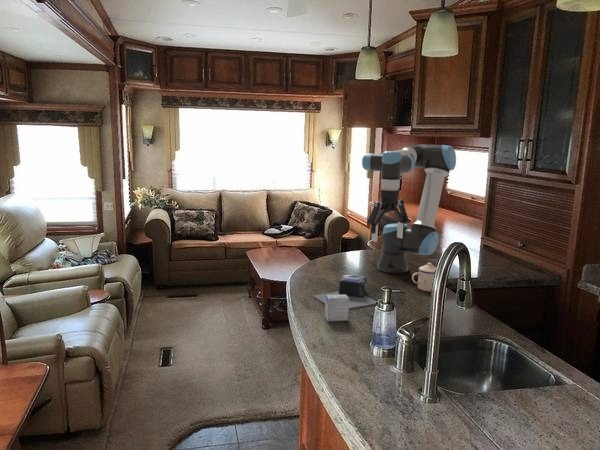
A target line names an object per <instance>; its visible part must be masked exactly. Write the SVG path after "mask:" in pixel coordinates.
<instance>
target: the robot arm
mask: <svg viewBox="0 0 600 450" xmlns="http://www.w3.org/2000/svg"><path fill="white" fill-rule="evenodd" d="M361 166H362V168H363V169H364V170H365V171H370V172H372V171H373V172H381V178H380V188H381V190H380V196H379V198H380V201H377V200H375V201H374V203H373V204H374V205H373V208H372V211H371V212H370V215H369V217H368V220H367V222H366V224H367V225H370V233H371V241H372V242H375V243H376V242H378V233H379V232H378V231H379V226H378V224H379V222H380V221H381V219H382V218H383V216H384V215H385V214H386V213H390V212H391V213H392V212H393V214H394V215H395V217H396V218H397V219H398V222H397V223H389V224H385V225H384V226H383V230H382V245H381V254H380V257H379V260H378V262H377V267H376V268H377V269H378V271H381V272H384V273H388V274H404V273H408V271H409V264H408V259H407V256H406V252H407V253H412V254H417V255H420V256H422V255H423V256H424V255H425V256H431V255H432V254H433V253H434V252H435V251H436V249H437V248H438V244H439V241H440V239H439V238H440V234H439V232H437V228H436V226H435V224H436V223H435V222H436V218H437V213H438V209H439V205H440V201H441V195H442V192H443V191H442V190H443V186H444V182H445V179H446V177H448V176H450V175H449V174H450V171H453V170H454V169H455V167H456V166H457V155H456V150H455V147H453V146H451V145H446V144H425V143H421V144H416V145H412V146H405V147H403V148H402V149H398V150H388V151H387V150H385V151H383V152H379V153H372V152H370V153H365V154H364V155H363V156H362V159H361ZM414 168H421V169H424V172H425V173H426V176H425V179H424V180H425V181H424V184H423V185H424V186H423V190H422V194H421V196H420V197H421V198H420V203H419V207H418V211H417V216H416V220H415V221H414V222H413V223H411V227H408V226H409V225H408V223H407V222H408V221H409V217H408V216H409V215H408V213H407V210H406V207H405V202H404V201H405V200H403V199H399V198H400V190H399V189H400V186H401V185H400V184H401V182H400V181H401V174H407V173H410V172H411V171H413V170H414Z"/></svg>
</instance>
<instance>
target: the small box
mask: <svg viewBox="0 0 600 450" xmlns="http://www.w3.org/2000/svg"><path fill="white" fill-rule="evenodd" d="M367 279H368V276H366V275H354V274H342V275H341V278H340V279H339V287H338V291H339V295H347V296H356V297H364V295H365V296H366V291H367V282H368V281H367Z"/></svg>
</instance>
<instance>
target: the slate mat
mask: <svg viewBox="0 0 600 450" xmlns="http://www.w3.org/2000/svg"><path fill="white" fill-rule="evenodd" d="M326 295H339V290H338V291H334V292H332V291H331V292H327V293H321V294H315V295H314V294H313V295H312V297H313V298H314V299H316V300H317V301H319V302H320V303H322V304H324V305H325V298H326ZM347 297H348V298H349V310H353V309H360V308H364V307H370V306H376V302H378V301H377V300H375V299H373V298H371V297H369V296H367V295H366V294H365V295H364V297H356V296H347Z"/></svg>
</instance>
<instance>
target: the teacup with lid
mask: <svg viewBox="0 0 600 450" xmlns="http://www.w3.org/2000/svg"><path fill="white" fill-rule="evenodd" d="M436 268H437V267H436V266H434V265H433V263H431V262H427V264H424V265H422V266H420V267H419V268H418V272H414V273H413V274H412V276H411V280H412V281H413V283H414V284H417V288H418V290H420V291H423V292H431V289H432V283H433V279H434V275H435V270H436ZM416 275H418V280H417V281H416V280H415V276H416Z"/></svg>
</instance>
